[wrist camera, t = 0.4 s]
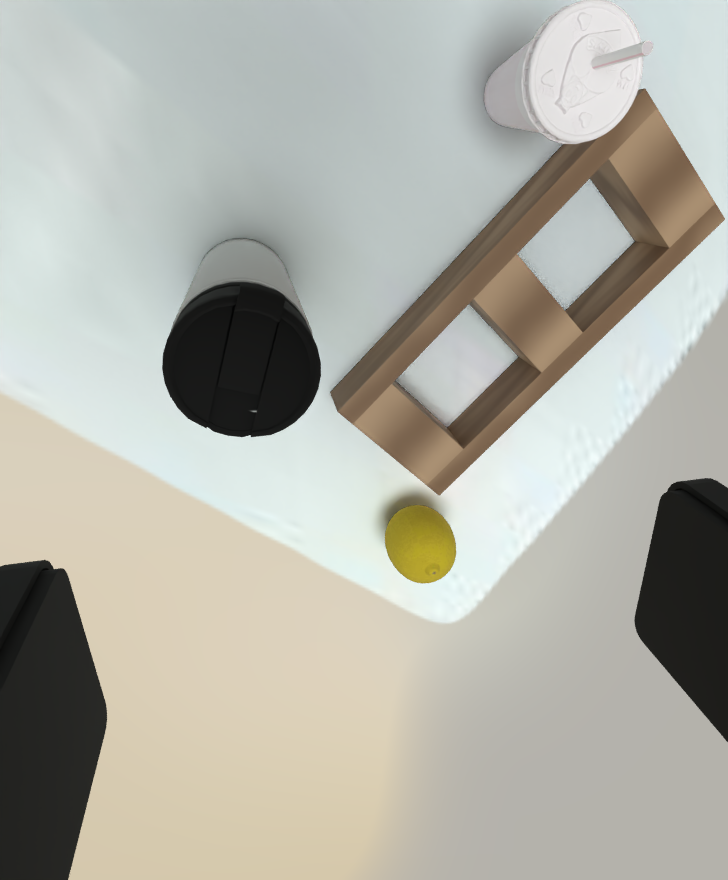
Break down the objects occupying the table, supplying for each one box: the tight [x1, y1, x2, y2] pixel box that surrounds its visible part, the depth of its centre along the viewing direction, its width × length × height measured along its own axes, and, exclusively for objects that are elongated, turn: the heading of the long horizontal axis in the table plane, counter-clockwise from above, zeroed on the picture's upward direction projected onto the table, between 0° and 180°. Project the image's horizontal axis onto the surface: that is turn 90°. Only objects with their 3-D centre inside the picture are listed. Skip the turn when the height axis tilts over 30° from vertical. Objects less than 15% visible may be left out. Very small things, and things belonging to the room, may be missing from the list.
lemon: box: [385, 505, 456, 583], centre depth 47 cm, size 6×6×8 cm
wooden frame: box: [330, 89, 725, 495], centre depth 43 cm, size 11×28×4 cm, turn 136°
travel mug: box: [162, 238, 321, 437], centre depth 31 cm, size 6×7×20 cm
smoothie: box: [484, 0, 653, 144], centre depth 32 cm, size 6×6×14 cm
